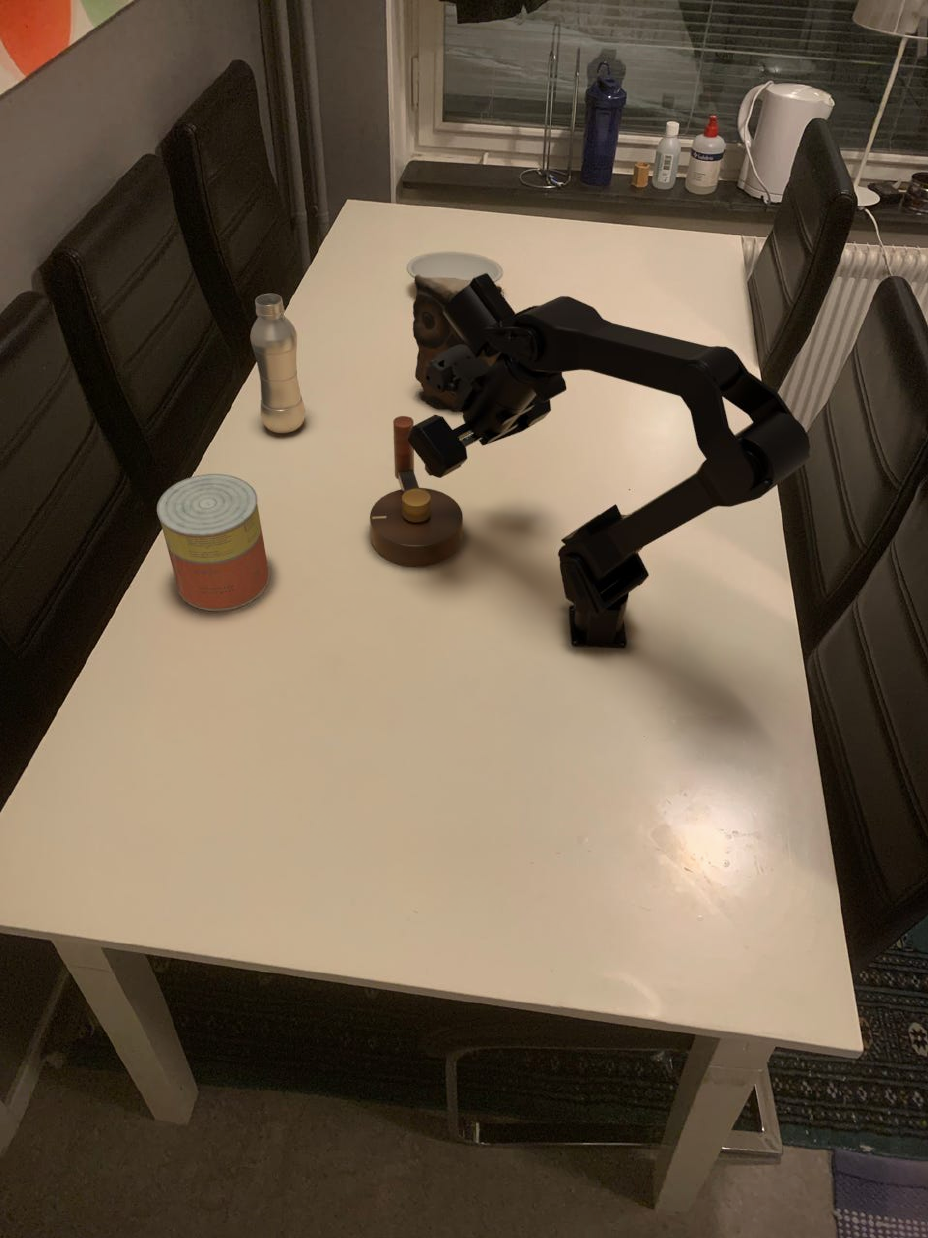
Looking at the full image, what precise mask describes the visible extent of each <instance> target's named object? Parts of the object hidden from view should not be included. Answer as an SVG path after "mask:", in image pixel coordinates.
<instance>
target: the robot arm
mask: <svg viewBox="0 0 928 1238" xmlns="http://www.w3.org/2000/svg"><path fill="white" fill-rule="evenodd" d="M496 286H497V285H496V282H494V281H493V280H492V279H491V277H490V276H489V275H488V273H484V274H482V275H480V276H477V277H475V278H473V279H472V281H471V283H470V284H469V285H468V286H466V287H465V288H463V289H462V290H461V291H460V292H459V293H457V294H456V295H455V296H454V297H453V298H452V299H451V300H449V301H448V302H447V303H446V305H445V307H444V309H443V313H444V315H445V316H446V318H447V319H448V321H449V322H450V323H451V325H452V326H453V327H454V329H455V330H456V331H457V333H458V334H459V335H460V337H461V338H462V339H463V341H464V342H465V343H466V345H467V346H466V345H462V344H459V345H456V346H454V347H452V348H450V349H447V350H445V351H443V352H441V353H439V354H438V355H437V356H436V358H435V359H433V360H431V361H430V365H429V366H428V367H426V369H425V370H426V375H425V381H426V384H427V385H428V386H429V387H431V388H432V389H433V390H434V391H436V392H437V393H438V394H442V393H444V392H446V391H447V392H448V393H450V394H451V395H452V396H454V397H456V399H455V401H454V402H453V403H452V405H453V406H454V407H455V409H456V410H457V411H458V412H457V413H462V419H463V422H464V423H463V424H461V425H458V426H456V427H455V428H452V427H451V426H450V425H449V423H448V421H447V420H446V419H445V417H444V416H441V415H437V414H434V415H432V416H430V417H428V418H426V419H424V420H422V421H420V422H418V423H416V424H415V425H414V426H413V427H412V429H411V430H410V432H409V433H408V437H407V441H408V442H409V444H410V445H411V446H412V448H413V449H414V453H416V454H417V456H418V457H419V458H420V460H421V461H422V462H423V464H424V471H425V472H426V474H427V475H428V476H430V477H431V476H433V477H435V478H438V479H442V478H443V477H445V476H447V475H449V474H451V473H452V472H454V471H456V470H457V469H459V468H461V467H462V465H463V464H465V462H466V461H467V460H468V453H467V447H469V446H471V445H473V444H474V443H477V442H479V444H481V446H483V447H484V446H487V445H490V444H493V443H495V442H497V441H501V440H504V439H506V438H508V437H511V436H514V435H516V434H519V433H522V432H524V431H525V430H527V429H529V428H531V427H532V426H534V425H536V424H537V423H539V422H541V421H542V420H544V419H545V418H546V417H547V416H548V415H549V414H550V413H551V412H552V406H551V400H552V399H554V398H556V397H557V396H559V395H560V394H563V393H564V392H566V391H567V383H566V380H565V378H564V377H563V373H565V372H575V371H590V372H594V373H596V374H600V375H603V376H607V377H611V378H614V379H617V380H621V381H625V382H628V383H632V384H635V385H639V386H642V387H646V388H650V389H653V390H656V391H660V392H663V393H667V394H670V395H673V396H677V397H680V398H681V399H682V401H683V402H684V404H685V405H686V407H687V408H688V410H689V411H690V415H691V420H692V426H693V429H694V435H695V440H696V444H697V447H698V449H699V451H700V452H701V454H702V455H703V456H704V458H705V460H704V461H702V463H701V464H700V466H699V467H698V469H697V470H696V472H695V473H693V474H692V475H690V476H688V477H686V478H685V479H683V480H682V481H680V482H679V483H677V484H676V485H674V486H672V487H670V488H669V489H667V490H665V491H664V492H662V493H661V494H659V495H658V496H656V497H655V498H652V500H650V501H648V502H646V503H645V504H643V505H642V506H641V507H639V508H637V509H635V510H634V511H632V512H631V513H628V514H621V512H620V509H619V508H618V505H617V504H614V505H612V506H610V507H609V508H607V509H606V510H605V511H602V512H601V513H600V514H597V515H595V516H594V517H593V518H591V519H589V520H588V521H587V522H585V523H584V524H582V525H580V526H579V527H578V528H577V529H575V530H573V531H572V532H570V533H569V534H567V535H565V537H563V538H561V539H560V541H561V543H563V545H562V546H561V547H560V548H559V550H558V552H557V557H559V570H560V576H561V581H562V586H563V591H564V597H565V599H566V600H568V601H570V602H571V603H572V605H569V607H568V619H569V620H568V621H569V634H570V644H571V646H573V647H579V648H606V649H625V648H626V647H627V645H628V641H627V634H626V627H625V619H624V618H625V614H626V610H627V605H628V602H629V601H628V600H629V596H630V593H631V592H632V591H634V590H635V589H636V588H638V587H640V586H641V585H642V584H644V582H645V581H646V580H647V579H648V578H649V576H650V574H649V572H648V570H647V567H646V566H645V563H644V561H643V560H642V558H641V555H640V554H639V553H640V551H642V550H643V548H644V547H645V546H647V545H649V544H651V543H653V542H655V541H656V540H658V539H660V538H662V537H663V536H665V535H667V534H670V533H671V532H672V531H674V530H676V529H678V528H680V527H681V526H683V525H685V524H686V523H689V522H691V521H692V520H694V519H696V518H697V517H700V516H701V515H702V514H705V513H706V512H708V511H710V510H712V509H714V508H717V507H722V508H723V507H724V508H731V507H735V506H739V505H742V504H745V503H749V502H752V501H756V500H758V499H760V498H762V497H763V496H765V495H766V494H768V492H770V491H771V490H773V489H774V488H775V487H776V486H778V485H779V484H781V482H783V481H784V480H786V479H787V478H789V476H791V475H792V474H794V473H795V472H796V471H798V470H799V469H801V467H803V466H804V465H805V464H806V463H807V462H808V460H809V459H810V449H811V444H810V438H809V434H808V433H807V430H806V428H805V427H804V426H803V425H802V424H801V422H800V421H798V419H796V417H795V415H794V414H793V413H792V411H791V410H790V408H789V407H788V406H787V404H786V402H785V401H784V399H783V398H782V397H781V395H780V394H779V392H777V391H776V390H775V389H773V388H772V387H771V386H769V385H768V384H767V383H765V382H764V381H763V380H761V379H759V378H758V377H757V376H756V375H754V373H753V374H752V373H751V372H750V371H749V370H748V368H747V367H746V365H745V364H744V362H743V361H742V360H741V358H740V356H739V355H738V354H737V353H736V352H735V351H734V349H732V348H730V347H727V346H721V345H714V346H710V345H705V344H701V343H697V342H693V341H689V340H684V339H680V338H675V337H672V336H667V335H664V334H660V333H655V332H650V331H647V330H642V329H638V328H634V327H630V326H626V325H623V324H622V325H621V324H618V323H613V322H612V321H609V320H606V319H604V318H603V317H602V315H601V314H600V313H599V311H598V310H597V309H596V308H595V307H594V306H591V305H590V304H587V303H585V302H582V301H580V300H579V299H576V298H574V297H572V296H567V295H560V296H558V297H556V298H553V299H552V300H549V301H546V302H545V303H542V304H540V305H532V306H529V307H527V308H524V309H522V310H521V311H518V312H515V310H514V308H512V306H511V304H509V302H508V301H507V300H506V298H505V297H504V296H503V294H502V292H501V293H500V292H499V290H498V289H497V287H496ZM499 352H501V353H500V355H499V356H498V358H497V359H496V360H495V362H494V363H493V365H492V366H491V367H490V366H489V365H488V363H487V361H486V360H484V359H483V358H482V357H481V356H480V355H481V354H483V353H485V354H486V356H487V357H492V356H494V355H496V354H497V353H499ZM724 399H725V400H726V401H728V402H730V404H732V405H733V406H735V407H736V408H737V409H739V410H741V411H742V412H744V413H745V414H746V415H748V417H749V418H750V420H751V421H752V422H751V423H750V424H748V425H747V426H746V427H744V428H743V429H741V430H740V431H738V432H737V433H734V432H733V431H732V429H731V427H730V425H729V421H728V416H727V411H726V406H725V403H724Z"/></svg>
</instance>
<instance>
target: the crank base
mask: <svg viewBox="0 0 928 1238" xmlns="http://www.w3.org/2000/svg"><path fill="white" fill-rule="evenodd" d="M419 489H422V490H425V491H427V492H428V493H429V494H430V498H431V503H430V517H429V518H428V519H427V520H425V521H423V522H410V521H408V520H406V519H405V518H404V517H403V512H402V496H403V493H402V490H401V488H400V489H397V490H394V491H391V492H388V493H387V494H385V495H383V496H381V498H379V499H378V500H377V501H376V502H375V503H374V505H373V506H372V508H371V510H370V514H369V527H370V528H369V529H370V539H371V544H372V546H373V548H374V550H375V551H376V552H377V554H379V555H380V556H381V557H382V558H384V559H385V560H387V561H389V562H391V563H393V564H397V565H400V566H405V567H414V568H415V567H416V568H417V567H418V568H419V567H429V566H433V565H437V564H440V563H442V562H444V561H447V560H448V559H449V558H451V557H452V556H454V555H455V554H456V553H457V551H458V550H459V548H460V547H461V545H462V541H463V528H464V527H463V526H464V525H463V524H464V515H463V510H462V508H461V506H460V504H459V503H458V502H457V501H456V500H455V499H454V498H452V497H451V496H450V495H448V494H446V493H444V492H442V491H439V490H437V489H432V488H428V487H419Z"/></svg>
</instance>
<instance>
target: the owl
mask: <svg viewBox="0 0 928 1238" xmlns="http://www.w3.org/2000/svg"><path fill="white" fill-rule="evenodd" d="M471 281H472V280H461V279H458V278H442V277H438V278H432V277H421V276H420V275H416V276H415V278H414V284H415V288H416V295H415V299H414V301H413V304H412V315H413V322H412V333H413V338H414V339H415V342H416V345H417V349H418V351H417V355H416V366H415V373H414V377H415V379H416V381H418V382H419V383H420V385H421V388H422V389H423V392H422V394H421V396H420V399H421V401H422V402H424V403H425V404H427V405H429V406H430V407H431V408H433V409H436V410H451V412H454V413H459V412H458V411H457V410H456V409H455V407H454V406H453V405H452V403H453V402H454V401H455V399H456V397H454V396H452V395H451V394H450V393H448V392H447V391H446V392H444V393H442V394H438V393H437V392H436V391H434V390H433V389H432V388H431V387H429V386H428V385H427V384H426V381H425V375H426V370H425V369H426V367H428V366H429V365H430V361H431V360H433V359H435V358H436V356H437V355H438V354H439V353H441V352H443V351H445V350H447V349H450V348H452V347H454V346H456V345H459V344H462V345H466V343H465V342H464V341H463V339H462V338H461V337H460V335H459V334H458V333H457V331H456V330H455V329H454V327H453V326H452V325H451V323H450V322H449V321H448V319H447V318H446V316H445V315H444V313H443V309H444V307H445V305H446V303H447V302H448V301H449V300H451V299H452V298H453V297H454V296H455V295H456V294H457V293H459V292H460V291H461V290H462V289H463V288H465V287H466V286H468V285H469V284H470V283H471ZM496 287H497V289H498V290H499V292H500V293H501V294H502V292H503V289H502V287H501V285H496ZM466 346H467V345H466ZM500 353H501V352H499V353H497V354H496V355H494V356H492V357H487V356H486V354H485V353H483V354H481V355H480V356H481V357H482V358H483V359H484V360H486V361H487V363H488V365H489V366H490V367H491V366H492V365H493V363H494V362H495V360H496V359H497V358H498V356H499V355H500Z"/></svg>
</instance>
